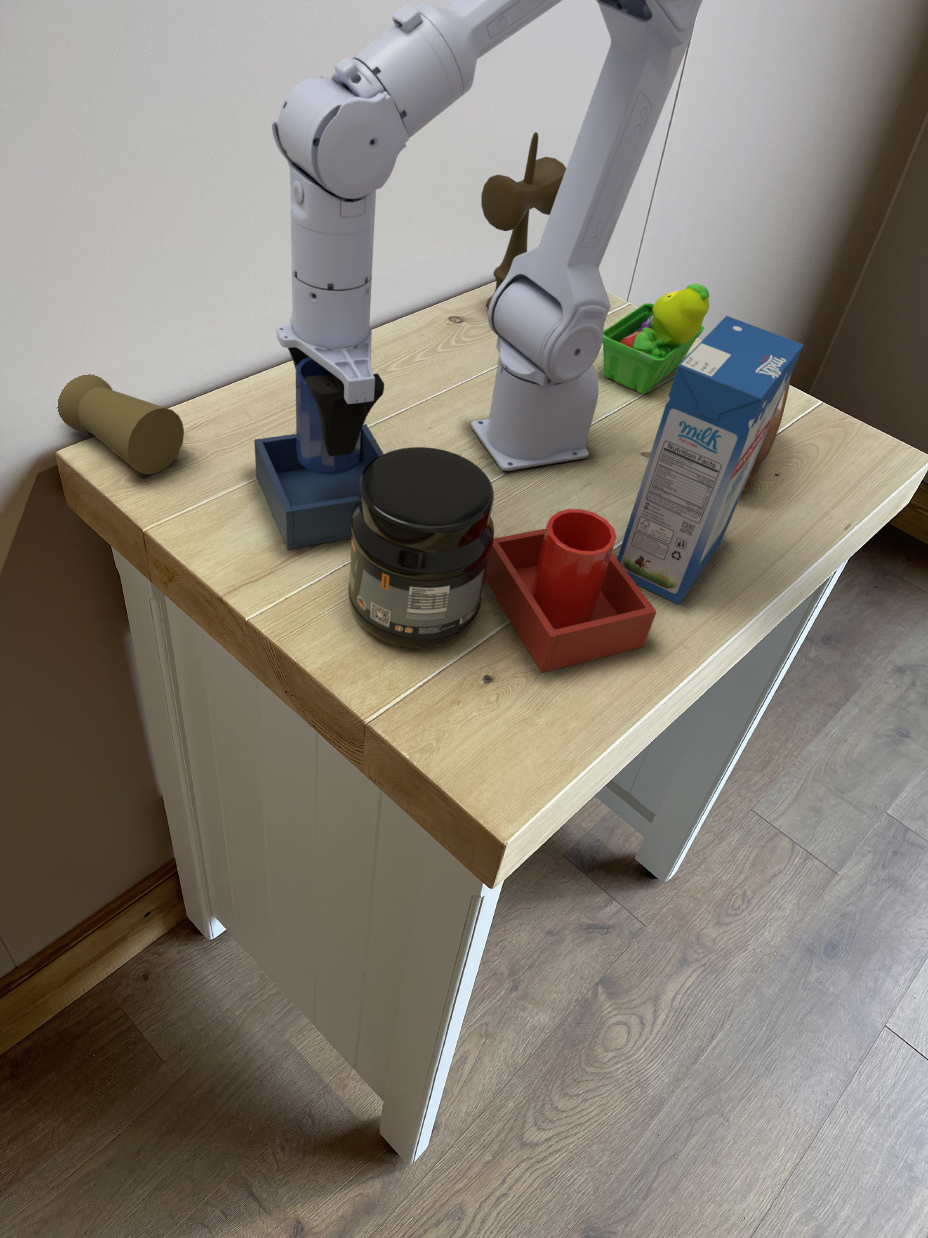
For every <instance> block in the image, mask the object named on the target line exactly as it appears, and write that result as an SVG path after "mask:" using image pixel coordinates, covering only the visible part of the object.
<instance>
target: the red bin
mask: <svg viewBox="0 0 928 1238" xmlns="http://www.w3.org/2000/svg"><path fill="white" fill-rule="evenodd" d="M545 531H546V527H545V528H540V529H535V530H530V531H526V532H524V531H523V532H520V533H514V534H510V535H504V536H499V537H494V540H493V544H492V548H491V550H490V552H489V557H488V563H487V568H486V574H485V579H484V582H485V583H486V584H487V586H488V588H489V589H490V591H491V593H492V594H493V596H494V598H495V599H496V601H497V603H498V604H499V605H500V608H501V609H502V610H503V612H504V614H505V615H506V617H507V619H508V621H509V622H510V624H511V625H512V627H513V629H514V631H515V632H516V633H517V635H518V637H519V638H520V640H521V642H522V643H523V645H524V647H525V649H526V650H527V652H528V653H529V655H530V657H531V658H532V660H533V662H534V663H535V665H536V666H537V668H538V669H539V671H540V673H544V672H549V671H552V670H557V669H561V668H565V667H569V666H572V665H577V664H580V663H581V664H582V663H584V662H589V661H593V660H597V659H600V658H604V657H608V656H613V655H616V654H620V653H625V652H629V651H632V650H636V649H640V648H643V647H644V646H645V644H646V641H647V638H648V636H649V633H650V630H651V627H652V626H653V622H654V620H655V617H656V615H657V610H656V608H655V607H654V606H653V604H652V603H651V601H649V599H648V598H647V597H646V595H645V594H644V593H643V591H642V590H641V589H640V586H639V585H637V584H635V582H634V581H633V580H632V578H631V577H630V576H629V574H628V573H627V572H626V570H625V569H624V568H623V566H622V565H621V564H620V562H619V561H618V560H617V558H618V557H616V556H615V554H614V553H613V552H612V554H611V557H610V560H609V563H608V567H607V570H606V573H605V576H604V580H603V583H602V586H601V589H600V593H599V596H598V599H597V602H596V605H595V609H594V612H593V615H592V618H591V619H590V621H589V622H585V623H581V624H577V625H572V626H568V627H564V628H560V629H557V628H553V627H552V625H551V624H550V622H549V621H548V619H547V618H546V616H545V615H544V613H543V612H542V610H541V608H540V607H539V605H538V604H537V602H536V601H535V599H534V598H533V596H532V595H531V590H532V586H533V582H534V577H535V573H536V569H537V565H538V560H539V556H540V552H541V548H542V543H543V539H544V535H545Z"/></svg>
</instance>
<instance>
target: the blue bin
mask: <svg viewBox="0 0 928 1238" xmlns="http://www.w3.org/2000/svg"><path fill="white" fill-rule="evenodd" d="M253 443H254V460H255V477H256V479H257V481H258V485H259V486H260V489H261V491H262V493H263V496H264V498H265V501H266V503H267V505H268V508H269V510H270V513H271V515H272V517H273V519H274V522H275V524H276V527H277V530H278V531H279V534H280V536H281V539H282V541H283V544H284V546H285V549H286V550H292V549H293V550H294V549H297V548H298V549H299V548H305V547H309V546H315V545H319V544H320V545H321V544H325V543H331V542H337V541H342V540H349V539H351V531H350V519H351V514H352V511H353V508H354V506H355V504H356V503H357V501H358V497H359V481H360V477H361V474H362V472H363V471H364V469H365V468H366V466H367V465H368V464H369V463H370V462H372V461H373V460H374V459H376V458H377V457H379V456H381V455H383V454H384V452H383V450H382V449H381V447H380V445H379V443H378V442H377V440H376V438H375V436H374V435H373V433H372V432H371V430H370V428H369V426H368V424H367V423H366V424H365V423H364V424H363V426H362V429H361V440H360V457H359V462H358V463H357V465H356V466H355V467H354V468H353V469H351V470H349V471H347V472H344V473H341V474H333V475H327V474H319V473H315V472H313V471H310V470H308V469H306V468H305V467H304V466H302V465H301V464H300V462H299V461H298V458H297V443H296V433H292V434H285V435H279V436H278V435H276V436H270V437H269V436H268V437H263V438H255V439H254V440H253Z"/></svg>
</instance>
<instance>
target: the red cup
mask: <svg viewBox="0 0 928 1238" xmlns="http://www.w3.org/2000/svg"><path fill="white" fill-rule="evenodd" d="M545 528H546V531H545V535H544V539H543V543H542V548H541V552H540V556H539V560H538V565H537V569H536V573H535V577H534V582H533V586H532V590H531V595H532V596H533V598H534V599H535V601H536V602H537V604H538V605H539V607H540V608H541V610H542V612H543V613H544V615H545V616H546V618H547V619H548V621H549V622H550V624H551V625H552V627H553V628H557V629H560V628H564V627H568V626H572V625H577V624H581V623H585V622H589V621H590V619H591V618H592V615H593V612H594V609H595V605H596V602H597V599H598V596H599V593H600V589H601V586H602V583H603V580H604V576H605V573H606V570H607V567H608V563H609V560H610V557H611V554H612V553H613V551H614V548H615V544H616V540H617V535H616V530H615V528H614V526H613V525H612V524H611V523H610V521H608V519H606V518H604V517H602V516H601V515H599V514H597V513H596V512H593V511H589V510H585V509H583V508H582V509H581V508H567V509H563V510H559V511H557V512H555V513H554V514H553V515H552V516H550V517H549V519H548V521H547V524H546V527H545Z"/></svg>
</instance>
